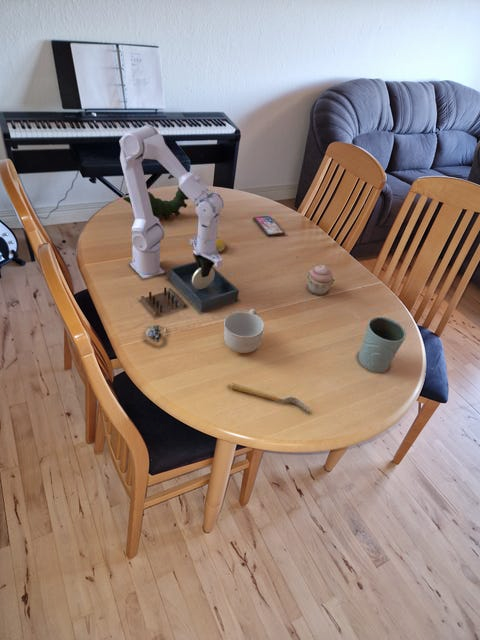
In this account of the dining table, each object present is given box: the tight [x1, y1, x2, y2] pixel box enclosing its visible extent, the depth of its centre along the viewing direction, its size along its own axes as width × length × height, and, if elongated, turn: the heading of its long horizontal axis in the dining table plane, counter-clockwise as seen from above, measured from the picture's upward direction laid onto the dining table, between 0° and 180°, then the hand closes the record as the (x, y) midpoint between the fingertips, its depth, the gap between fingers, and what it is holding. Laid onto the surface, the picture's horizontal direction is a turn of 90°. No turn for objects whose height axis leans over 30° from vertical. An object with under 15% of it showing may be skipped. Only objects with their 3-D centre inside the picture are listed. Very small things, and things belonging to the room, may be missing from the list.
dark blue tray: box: [167, 261, 240, 313], centre depth 137 cm, size 20×14×4 cm
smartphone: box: [253, 215, 285, 237], centre depth 178 cm, size 8×1×15 cm
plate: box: [192, 267, 215, 289], centre depth 136 cm, size 1×8×8 cm, turn 127°
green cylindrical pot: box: [358, 316, 407, 373], centre depth 119 cm, size 10×10×12 cm
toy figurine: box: [122, 173, 190, 221], centre depth 166 cm, size 9×19×25 cm
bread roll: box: [216, 235, 226, 253], centre depth 159 cm, size 8×9×4 cm
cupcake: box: [306, 263, 336, 296], centre depth 144 cm, size 9×9×10 cm
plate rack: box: [140, 287, 186, 317], centre depth 129 cm, size 9×10×3 cm
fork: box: [229, 382, 310, 413], centre depth 107 cm, size 2×2×20 cm
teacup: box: [223, 308, 265, 354], centre depth 120 cm, size 14×11×8 cm
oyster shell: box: [144, 324, 168, 343], centre depth 118 cm, size 7×8×2 cm
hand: (203, 274), depth 135 cm, fingers closed on plate, 1 cm apart
